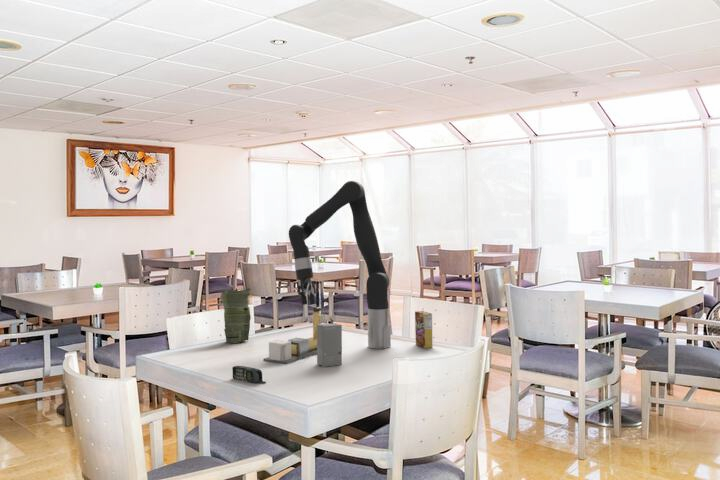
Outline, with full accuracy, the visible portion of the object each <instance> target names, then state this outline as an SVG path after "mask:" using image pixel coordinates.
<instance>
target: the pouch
mask: <svg viewBox="0 0 720 480" xmlns="http://www.w3.org/2000/svg"><path fill="white" fill-rule="evenodd" d="M251 290H252V288H246V289H240V290H238V288H236V289H234V290H232V289H224V290H222V291H220V293H221V295H220V300H221V302H222V305H223V310H224V313H223V315H224V317H223V318H224V330H223V331H224V336H225V342H226V343H231V344H238V343H243V342H245V341H246V342H247V341H249V335H250V330H251V329H250V328H251V327H250V326H251V320H252V319H251V318H252V316H251V308H250V306H249V296H250V292H251Z"/></svg>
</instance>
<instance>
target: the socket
mask: <svg viewBox="0 0 720 480" xmlns="http://www.w3.org/2000/svg"><path fill="white" fill-rule="evenodd" d="M268 357H269V359H271V360H279V361H285V360H288V359H291V342H290V341H288V340H279V339H276V340H273V341H269V342H268Z"/></svg>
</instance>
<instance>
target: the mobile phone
mask: <svg viewBox="0 0 720 480" xmlns="http://www.w3.org/2000/svg"><path fill="white" fill-rule="evenodd" d="M231 369H232V379H233V378H234V379H233V380H237V379H238V381H242V380H243V382H246V381H247V382H246V383H250V382H251V383H252V384H258V383H260V384H266V383H267V382H266V381H264V380H263V371H262V370H261V369H258V368H256V367H255V368H254V367H251V366H244V365H235V366H232V368H231ZM251 383H250V384H251Z"/></svg>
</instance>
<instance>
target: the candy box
mask: <svg viewBox="0 0 720 480" xmlns="http://www.w3.org/2000/svg"><path fill="white" fill-rule="evenodd" d="M414 323H415V325H414V327H415V332H414V333H415V345H416V346H419V347H421V348H423V349H431V348H433V313H430V312H427V311H424V310H416V311H414Z"/></svg>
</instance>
